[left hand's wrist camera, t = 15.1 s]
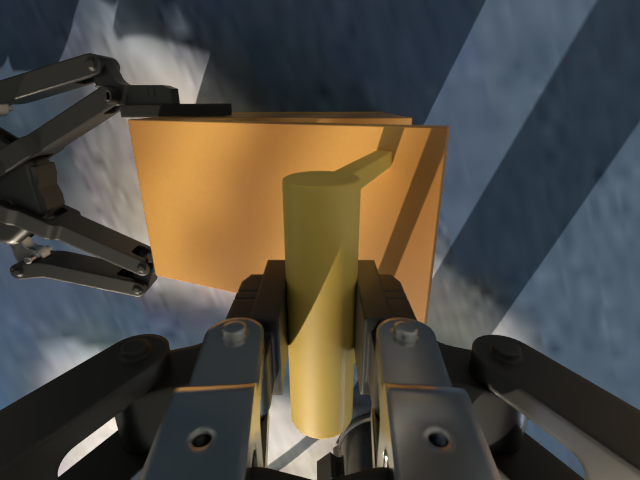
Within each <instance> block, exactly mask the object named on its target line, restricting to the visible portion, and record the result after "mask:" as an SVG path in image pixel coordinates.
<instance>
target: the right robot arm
mask: <svg viewBox="0 0 640 480" xmlns="http://www.w3.org/2000/svg"><path fill="white" fill-rule="evenodd" d="M92 83H96V86H95V87H96V88H98V89H97V90H95V91H94V92H92V93H91V94H89V95H88V96H86V97H85V98H83V99H82V100H80V101H79V102H77V103H76V104H74V105H73V106H71V107H70V108H68V109H67V110H65V111H64V112H62V113H61V114H59V115H58V116H56V117H55V118H53V119H52V120H50V121H48V122H47V123H45V124H44V125H42V126H41V127H39V128H38V129H36V130H35V131H33V132H32V133H30V134H29V135H27V136H24V137H21V138H18V137H16V136H14V135H13V134H11V133H9V132H8V131H6V130H4V129H3V128H1V127H0V242H2V243H5V244H10V246H11V249H12V251H13V253H14V256H15V258H16V260H17V263H16V264H15V265H13V266H12V267H11V268H10V273H11V274H12V276H14V277H15V278H17V279H30V278H41V277H45V278H49V279H54V280H59V281H64V282H69V283H74V284H78V285H83V286H88V287H93V288H98V289H102V290H107V291H112V292H117V293H122V294H126V295H131V296H136V297H140V296H143V295H144V294H145V293H146V291H147V290H148V289H149V288H150V287H151V285H152V284H153V283H154V282H155V281H156V280H157V275H156V273H155V268H154V262H153V256H152V251H151V247H150V246H148V245H145V244H143V243H141V242H139V241H136V240H134V239H132V238H130V237H128V236H125V235H123V234H121V233H119V232H116V231H114V230H112V229H110V228H107V227H105V226H103V225H101V224H99V223H96V222H94V221H92V220H90V219H87V218H85V217H83V216H81V215H80V212H79V211H77V210H75V209H73V208H71V207H69V206H66V205H64V203H65V201H64V198H63V194H62V192H61V190H60V188H59V186H58V184H57V171H56V167H55V163H54V162H50V160H49V158H51V157H52V156H54V155H55V154H57V153H58V152H60V151H61V150H63V149H64V147H65V146H66V145H68V144H69V143H71V142H73V141H74V140H76V139H77V138H79V137H80V136H82V135H83V134H85V133H87V132H88V131H90V130H91V129H93V128H94V127H96V126H97V125H99V124H101V123H102V122H104V121H105V120H107V119H108V118H110V117H112V116H113V115H115V114H116V113H118V112H119V111H121V116H122V117H186V116H228V115H232V110H231V104H180V102H179V94H178V89H177V88H174V87H172V86H166V85H130V84H128V83H127V82H126V81H125V80H124V79H123V77H122V75H121V73H120V65H119V63H118V62H117V61H116V60H115V59H114V58H111V57H106V56H101V55H96V54H91V53H89V54H84V55H81V56H77V57H74V58H71V59H68V60H64V61H61V62H58V63H55V64H52V65H48V66H45V67H42V68H39V69H35V70H32V71H29V72H26V73H23V74H19V75H16V76H13V77H10V78H6V79H3V80H0V117H3V116H6V115H8V114H9V111H12V109H13V107H12V105H11V104H25V103H29V102H33V101H36V100H40V99H43V98H46V97H49V96H53V95H56V94H59V93H63V92H66V91H69V90H73V89H76V88H79V87H82V86H86V85H89V84H92ZM33 235H37V236H40V237H42V238H45V239H49V240H52V239H56V240H59V241H62V242H64V243H66V244H69V245H71V246H73V247H76V248H78V249H80V250H83V251H85V252H87V253H90V254H92V255H94V256H97V257H99V258H95V257H91V256H86V255H81V254H77V253H72V252H67V251H53V249H52V247H51V246H42V245H37V244H35V243H34V242H33V241H32V239H31V237H32V236H33ZM100 258H101V259H100Z"/></svg>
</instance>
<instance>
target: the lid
mask: <svg viewBox="0 0 640 480" xmlns="http://www.w3.org/2000/svg"><path fill="white" fill-rule="evenodd" d="M128 123H129V128H130V134H131V139H132V145H133V151H134V156H135V162H136V167H137V173H138V178H139V184H140V190H141V195H142V201H143V206H144V212H145V217H146V223H147V229H148V234H149V240H150V245H151V251H152V256H153V262H154V268H155V273H156V275H157V276H162V277H166V278H171V279H176V280H180V281H185V282H189V283H194V284H198V285H203V286H207V287H212V288H216V289H221V290H225V291H230V292H234V293H237V292H238V289H239V287H240V285H241V282H242V281H243V280H245V279H246V278H247V277H249V276H250V275H251V274H263V273H264V270H265V267H266V264H267V261H268V260H285V270H286V289H287V316H288V342H289V345H288V347H289V372H290V398H291V417H292V421H293V423H294V425H295V426H296V428H297V429H298V430H299V431H300V432H302V433H303V434H305V435H307V436H309V437H312V438H317V439H327V438H331V437H335V436H337V435H339V434H340V433H342V432H343V431H344V430H345V429H346V428H347V427H348V425H349V424H350V422H351V419H352V408H353V382H354V364H355V362H356V360H355V353H354V331H355V305H356V281H357V278H358V260H374V261H375V264H376V267H377V270H378V273H379V274H391V275H392V276H393V277H395V278H396V279H397V280H399V281H400V282H401V285H402V287H403V289H404V292H405V294H406V296H407V300H408V301H409V303H410V305H411V307H412V310H413V312H414V314H415V317H416V319H417V321H419V322H422V323H424V324H425V325H426V323H427V316H428V308H429V299H430V291H431V283H432V274H433V266H434V258H435V249H436V241H437V232H438V224H439V216H440V207H441V199H442V190H443V182H444V174H445V165H446V157H447V148H448V140H449V132H450V126H441V125H398V124H355V123H311V122H268V121H225V120H182V119H130V120H128Z"/></svg>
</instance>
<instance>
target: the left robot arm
mask: <svg viewBox="0 0 640 480" xmlns="http://www.w3.org/2000/svg"><path fill="white" fill-rule="evenodd" d="M288 345H289V342H288V316H287V289H286V270H285V260H268V261H267V264H266V267H265V270H264V273H263V274H251V275H250V276H249V277H247V278H246V279H245V280H243V281H242V282H241V285H240V287H239V289H238V292H237V294H236V296H235V299H234V301H233V303H232V306H231V308H230V311H229V313H228V315H227V318H226V320H223V321H221V322H218V323H216V324H215V325H213V326H212V327H211V328H210V329H209V330H208V331H207V332H206V334H205V337H204V340H203V343H200V344H197V345H194V346H190V347H185V348H180V349H175V350H170V348H169V342H168V341H167V339H166V338H164V337H162V336H160V335H155V334H142V335H137V336H132V337H129V338H126V339H124V340H122V341H120V342H118V343H116V344H114V345H112V346H111V347H109V348H107V349H105V350H104V351H102V352H100V353H98V354H97V355H95V356H93V357H92V358H90V359H88V360H86V361H85V362H83V363H81V364H79V365H78V366H76V367H74V368H73V369H71V370H69V371H67V372H66V373H64V374H62V375H60V376H59V377H57V378H55V379H54V380H52V381H50V382H48V383H47V384H45V385H43V386H41V387H40V388H38V389H36V390H35V391H33V392H31V393H29V394H28V395H26V396H24V397H22V398H21V399H19V400H17V401H16V402H14V403H12V404H10V405H9V406H7V407H5V408H3V409H2V410H0V480H311V479H307V478H303V477H299V476H296V475H292V474H288V473H284V472H280V471H276V470H272V469H269V468H267V457H268V437H269V408H270V405H271V399H272V395H282V393H283V385H284V377H285V369H286V361H287V353H288ZM354 353H355V360H356V367H357V375H358V382H359V390H360V395H370V396H371V402H372V406H371V414H368V415H364V416H362V417H359V418H357V419H355V420H354V421H352V422H351V423H350V424H349V425H348V427H347V428H346V429H345V430H344V431H343V432H342V433H341V435H340V438H339V444H338V445H337V446H336V447H334V448H333V454H332V453H331V452H330V453H328V454H327V455H325V456H324V457H323V458H321V459H320V460H318V461H317V480H640V410H638V409H637V408H635V407H633V406H631V405H630V404H628V403H626V402H624V401H623V400H621V399H619V398H618V397H616V396H614V395H612V394H611V393H609V392H607V391H605V390H604V389H602V388H600V387H599V386H597V385H595V384H593V383H592V382H590V381H588V380H586V379H585V378H583V377H581V376H580V375H578V374H576V373H574V372H573V371H571V370H569V369H567V368H566V367H564V366H562V365H561V364H559V363H557V362H555V361H554V360H552V359H550V358H548V357H547V356H545V355H543V354H542V353H540V352H538V351H536V350H535V349H533V348H531V347H529V346H528V345H526V344H524V343H522V342H520V341H518V340H516V339H513V338H510V337H506V336H500V335H485V336H481V337H479V338H477V339H476V340H475V341H474V342H473V345H472V350H467V349H462V348H457V347H452V346H448V345H445V344H442V343H440V342H437V340H436V337H435V334H434V332H433V331H432V330H431V329H430V328H429V327H428V326H427V325H425V324H424V323H422V322H419V321H417V319H416V317H415V314H414V312H413V310H412V307H411V305H410V303H409V301H408V300H407V296H406V294H405V292H404V289H403V287H402V285H401V282H400V281H399V280H397V279H396V278H395V277H393V276H392V275H391V274H379V273H378V270H377V267H376V264H375V261H374V260H358V278H357V281H356V305H355V331H354ZM113 417H115V419H116V423H117V427H118V431H116V432H115V433H114V434H113V435H111V436H110V437H109V438H108V439H106V440H105V441H104V442H102V443H101V444H100V445H99V446H97V447H96V448H95V449H94V450H92V451H91V452H90V453H89V454H87V455H86V456H85V457H83V458H82V459H81V460H80V461H78V462H77V463H76V464H75V465H73V466H72V467H71V468H70V469H68V470H67V471H66V472H64V473H63V474H62V475H61V476H59V477H58V468H59V466H60V463H61V462H62V460H63V458H64V457H65V456H66V454H67V453H68V452H69V451H70V450H71V449H72V448H73V447H75V446H76V445H77V444H79V443H80V442H81V441H83V440H84V439H85V438H87V437H88V436H89V435H91V434H92V433H93V432H95V431H96V430H97V429H99V428H100V427H101V426H103V425H104V424H105V423H107V422H108V421H109V420H111V419H112V418H113ZM528 419H529V420H531V421H532V422H533V423H535V424H536V425H537V426H539V427H540V428H541V429H543V430H544V431H545V432H547V433H548V434H549V435H551V436H552V437H553V438H555V439H556V440H557V441H559V442H560V443H561V444H563V445H564V446H565V447H567V448H568V449H569V450H570V451H572V452H573V453H574V454H575V456H576V457H577V458H578V460H579V461H580V463H581V465H582V467H583V469H584V473H585V478H584V479H583V478H582V477H581V476H579V475H578V474H577V473H576V472H574V471H573V470H572V469H570V468H569V467H568V466H567V465H565V464H564V463H563V462H562V461H560V460H559V459H558V458H557V457H555V456H554V455H553V454H551V453H550V452H549V451H548V450H546V449H545V448H544V447H543V446H541V445H540V444H539V443H538V442H536V441H535V440H534V439H532V438H531V437H530V436H529V435H527V434H526V433H525V428H526V424H527V420H528Z"/></svg>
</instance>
